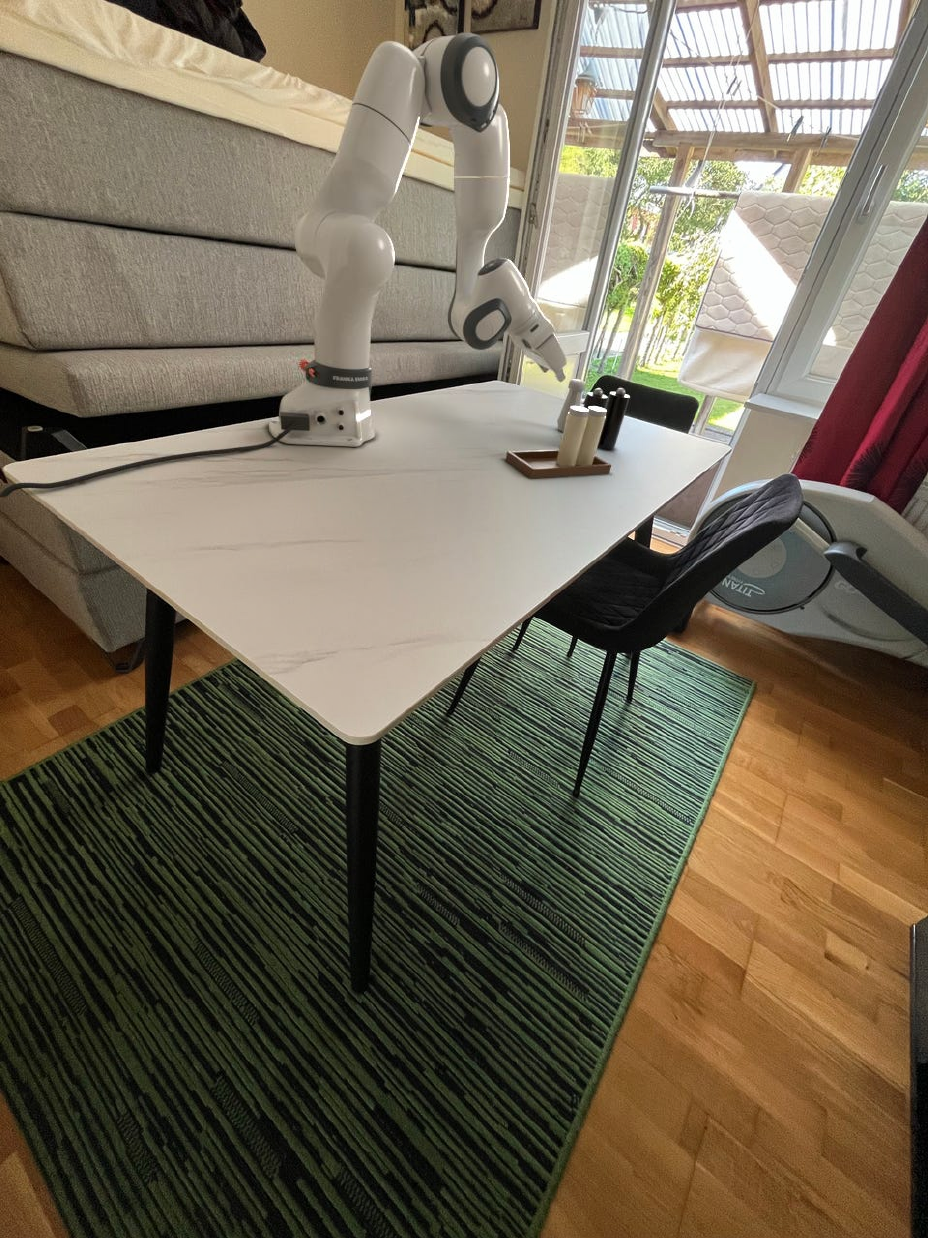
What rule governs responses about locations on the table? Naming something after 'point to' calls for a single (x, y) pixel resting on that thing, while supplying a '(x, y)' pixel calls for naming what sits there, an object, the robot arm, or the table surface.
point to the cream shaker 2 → (591, 435)
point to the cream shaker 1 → (572, 436)
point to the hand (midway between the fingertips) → (554, 374)
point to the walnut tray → (552, 464)
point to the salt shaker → (571, 401)
